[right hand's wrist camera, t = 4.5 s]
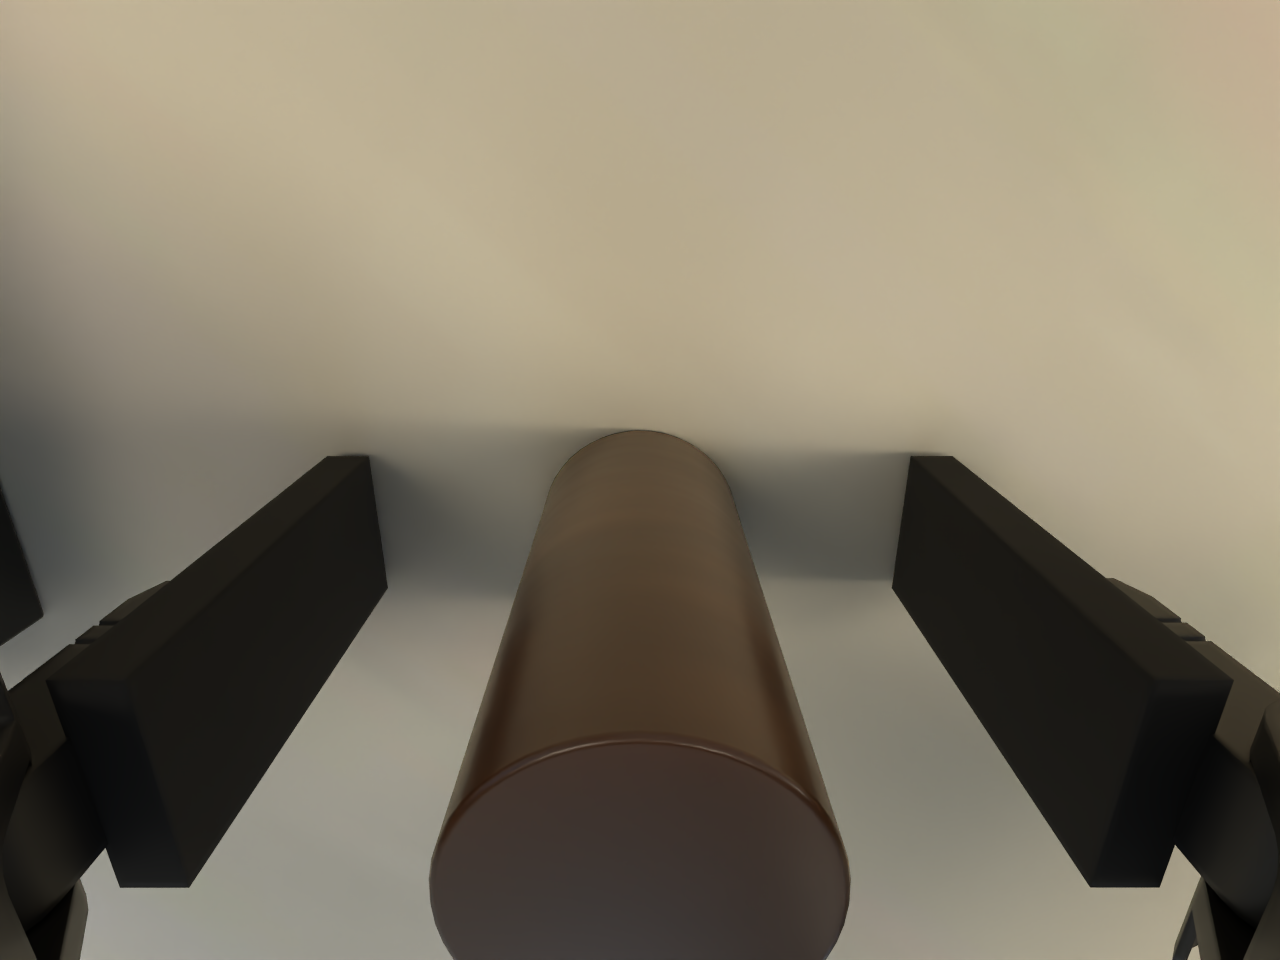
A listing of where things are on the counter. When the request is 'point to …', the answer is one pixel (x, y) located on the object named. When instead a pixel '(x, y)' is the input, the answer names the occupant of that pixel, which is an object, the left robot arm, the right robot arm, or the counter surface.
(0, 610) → the black box with handle
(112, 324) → the counter surface
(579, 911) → the walnut peg
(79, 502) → the counter surface
